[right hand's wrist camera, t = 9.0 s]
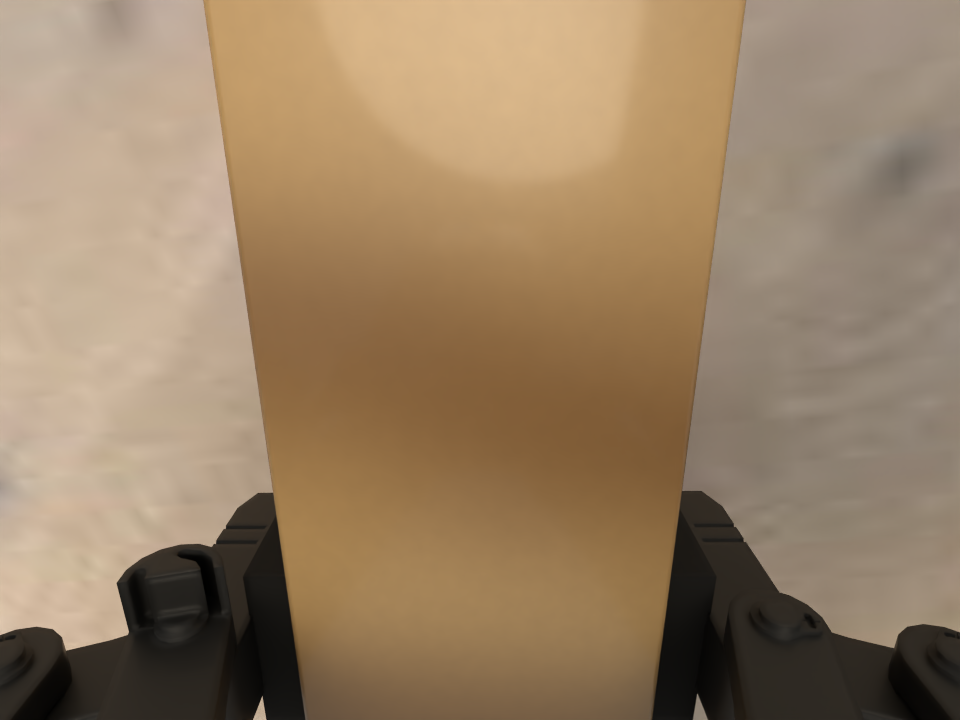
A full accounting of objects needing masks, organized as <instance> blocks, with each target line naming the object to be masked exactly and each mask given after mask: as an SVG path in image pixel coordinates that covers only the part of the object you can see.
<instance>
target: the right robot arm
mask: <svg viewBox="0 0 960 720" xmlns="http://www.w3.org/2000/svg"><path fill="white" fill-rule="evenodd" d="M117 586H118V590H119V594H120V598H121V602H122V606H123V610H124V614H125V618H126V621H127V625H128V629H129V634H128V635H127V636H123V637H120V638H117V639H114V640H110V641H106V642H102V643H97V644H93V645H89V646H85V647H80V648H76V649H72V650H68V651H66V649H65V646H64V643H63V640H62V637H61V636H60V635H59V634H58V633H56V632H55V631H54V630H53V629H47V628H41V627H32V628H25V629H18V630H14V631H11V632H8V633H5V634H2V635H0V720H253V718H254V716H255V713H256V711H257V708H258V705H259V703H260V700H261V698H262V695H263V701H264V707H265V713H266V720H306V719H305V712H304V705H303V698H302V691H301V684H300V677H299V670H298V663H297V656H296V649H295V642H294V635H293V628H292V621H291V614H290V607H289V600H288V593H287V586H286V579H285V572H284V565H283V558H282V550H281V543H280V536H279V529H278V522H277V515H276V508H275V501H274V494H273V493H258V494H256V495H255V496H253V497H252V498H251V499H249V500H248V501H247V502H245V503H244V504H243V505H241V506H240V507H239V508H237V510H236V511H235V513H234V515H233V516H232V518H231V519H230V521H229V522H228V524H227V525H226V529H224V530H223V531H222V533H221V534H220V536H219V537H218V539H217V540H216V544H214V545H213V546H212V547H209V546H205V545H201V544H185V545H177V546H173V547H169V548H165V549H161V550H159V551H157V552H155V553H153V554H150V555H148V556H146V557H144V558H142V559H140V560H139V561H138V562H136V563H135V564H134V565H132V566H131V567H130V568H128V569H127V570H126V571H125V572H124V574H123V575H122V577H121V578H120V579H119V581H118V582H117ZM697 694H698V696H699V699H700V701H701V704H702V706H703V709H704V711H705V714H706V716H707V719H708V720H960V632H957V631H954V630H951V629H948V628H945V627H940V626H932V625H925V624H922V625H915V626H909V627H907V628H905V629H904V630H903V631H902V632H901V633H900V634H899V635H898V638H897V641H896V644H895V647H894V648H890V647H886V646H882V645H877V644H873V643H869V642H864V641H860V640H856V639H852V638H848V637H844V636H841V635H838V634H835V633H832V632H831V630H830V629H829V627H828V626H827V624H826V623H825V621H824V620H823V618H822V617H821V616H820V615H819V614H818V613H816V612H815V611H814V610H813V609H812V608H810V607H809V606H808V605H807V604H805V603H803V602H801V601H799V600H797V599H795V598H793V597H791V596H789V595H786V594H783V593H779V591H778V590H777V588H776V587H775V585H774V584H773V582H772V581H771V579H770V578H769V576H768V575H767V573H766V572H765V570H764V569H763V567H762V566H761V564H760V563H759V561H758V560H757V558H756V557H755V555H754V554H753V552H752V551H751V549H750V548H749V546H748V545H747V543H746V542H744V541H743V537H742V535H741V534H740V532H739V531H738V529H737V528H736V527H734V523H733V522H732V520H731V519H730V517H729V516H728V514H727V513H726V511H725V510H724V508H723V507H722V506H721V505H720V504H718V503H717V502H716V501H714V500H713V499H712V498H710V497H709V496H707V495H706V494H705V493H703V492H702V491H682V494H681V501H680V509H679V517H678V524H677V532H676V539H675V547H674V555H673V562H672V570H671V578H670V585H669V593H668V601H667V608H666V616H665V624H664V631H663V639H662V646H661V654H660V662H659V669H658V677H657V685H656V692H655V700H654V708H653V715H652V720H693V717H694V711H695V705H696V699H697Z"/></svg>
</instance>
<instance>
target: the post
mask: <svg viewBox="0 0 960 720" xmlns="http://www.w3.org/2000/svg"><path fill="white" fill-rule="evenodd" d="M203 1H204V8H205V15H206V22H207V29H208V36H209V44H210V51H211V58H212V65H213V72H214V79H215V86H216V93H217V100H218V107H219V114H220V121H221V128H222V135H223V142H224V149H225V156H226V163H227V170H228V177H229V184H230V191H231V198H232V205H233V212H234V220H235V227H236V234H237V241H238V248H239V255H240V262H241V269H242V276H243V283H244V290H245V297H246V304H247V311H248V318H249V325H250V332H251V339H252V346H253V353H254V360H255V367H256V374H257V381H258V389H259V396H260V403H261V410H262V417H263V424H264V431H265V438H266V445H267V452H268V459H269V466H270V473H271V480H272V487H273V494H274V501H275V508H276V515H277V522H278V529H279V536H280V543H281V550H282V558H283V565H284V572H285V579H286V586H287V593H288V600H289V607H290V614H291V621H292V628H293V635H294V642H295V649H296V656H297V663H298V670H299V677H300V684H301V691H302V698H303V705H304V712H305V719H306V720H652V715H653V708H654V700H655V692H656V685H657V677H658V669H659V662H660V654H661V646H662V639H663V631H664V624H665V616H666V608H667V601H668V593H669V585H670V578H671V570H672V562H673V555H674V547H675V539H676V532H677V524H678V517H679V509H680V501H681V494H682V486H683V478H684V471H685V463H686V455H687V448H688V440H689V432H690V425H691V417H692V409H693V402H694V394H695V387H696V379H697V371H698V364H699V356H700V348H701V341H702V333H703V325H704V318H705V310H706V302H707V295H708V287H709V280H710V272H711V264H712V257H713V249H714V241H715V234H716V226H717V218H718V211H719V203H720V195H721V188H722V180H723V173H724V165H725V157H726V150H727V142H728V134H729V127H730V119H731V111H732V104H733V96H734V88H735V81H736V73H737V65H738V58H739V50H740V43H741V35H742V27H743V20H744V12H745V4H746V0H203Z"/></svg>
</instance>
